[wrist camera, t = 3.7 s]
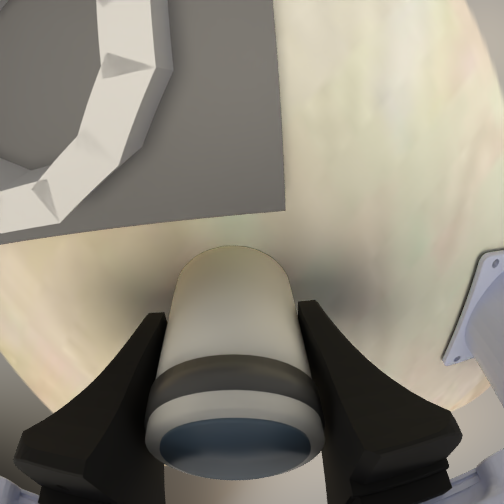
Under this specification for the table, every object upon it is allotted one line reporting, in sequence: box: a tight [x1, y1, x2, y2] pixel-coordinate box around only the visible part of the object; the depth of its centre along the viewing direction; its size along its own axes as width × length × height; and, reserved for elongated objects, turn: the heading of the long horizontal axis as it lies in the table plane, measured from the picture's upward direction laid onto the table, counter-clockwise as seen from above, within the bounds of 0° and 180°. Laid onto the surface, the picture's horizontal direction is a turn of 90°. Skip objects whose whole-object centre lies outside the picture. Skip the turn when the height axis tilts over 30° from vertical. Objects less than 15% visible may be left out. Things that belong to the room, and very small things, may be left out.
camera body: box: [0, 0, 286, 245], centre depth 7 cm, size 14×11×4 cm
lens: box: [144, 246, 325, 480], centre depth 10 cm, size 5×5×7 cm
